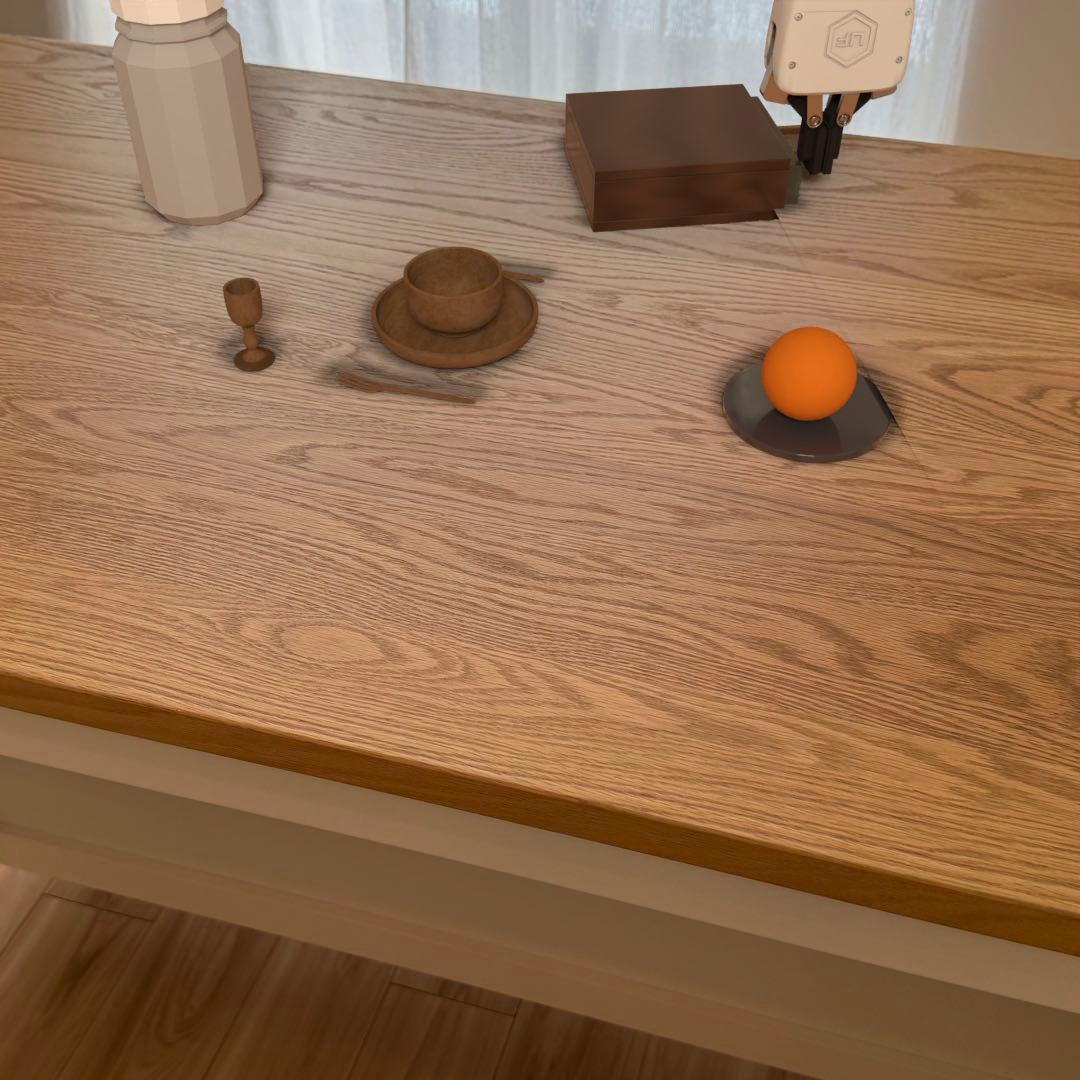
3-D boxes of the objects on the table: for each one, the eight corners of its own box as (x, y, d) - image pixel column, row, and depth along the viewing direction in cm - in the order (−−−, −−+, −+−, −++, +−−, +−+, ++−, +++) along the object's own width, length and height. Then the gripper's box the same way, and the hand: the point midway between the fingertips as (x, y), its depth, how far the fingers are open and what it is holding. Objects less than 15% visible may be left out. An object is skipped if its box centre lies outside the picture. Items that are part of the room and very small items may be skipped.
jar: (130, 227, 101) (74, -1, 88) (169, 172, 108) (122, -47, 96) (248, 234, 100) (208, 4, 88) (279, 178, 107) (246, -42, 95)
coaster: (857, 358, 87) (859, 351, 87) (913, 455, 79) (915, 448, 79) (705, 370, 86) (705, 363, 86) (746, 470, 78) (747, 463, 78)
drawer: (798, 129, 112) (803, 93, 110) (846, 201, 102) (853, 162, 100) (593, 142, 110) (594, 105, 108) (622, 216, 100) (624, 176, 98)
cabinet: (736, 140, 113) (743, 83, 109) (782, 219, 102) (791, 158, 98) (564, 151, 111) (565, 93, 107) (593, 232, 100) (595, 171, 97)
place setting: (504, 414, 82) (503, 338, 78) (224, 373, 86) (209, 299, 82) (561, 279, 95) (562, 209, 91) (315, 249, 98) (305, 179, 94)
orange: (837, 361, 84) (846, 299, 79) (862, 430, 81) (874, 370, 76) (749, 377, 84) (753, 316, 79) (771, 446, 81) (777, 388, 76)
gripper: (767, -53, 85) (737, 194, 97) (976, -62, 86) (919, 183, 99) (739, -87, 90) (714, 152, 103) (936, -94, 92) (887, 142, 104)
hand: (815, 166), depth 101 cm, fingers closed
